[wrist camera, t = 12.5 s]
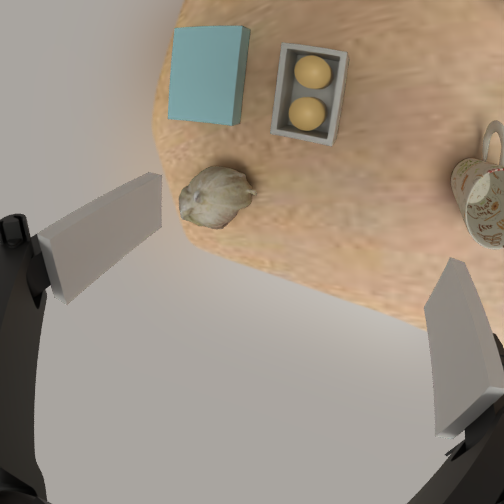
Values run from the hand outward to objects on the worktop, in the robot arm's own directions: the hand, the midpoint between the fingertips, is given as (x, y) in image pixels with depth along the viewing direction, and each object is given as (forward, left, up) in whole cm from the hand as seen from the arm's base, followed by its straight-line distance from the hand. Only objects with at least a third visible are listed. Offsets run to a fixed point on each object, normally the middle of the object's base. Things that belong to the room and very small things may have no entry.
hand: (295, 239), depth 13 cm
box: (-5, -4, -26) cm, 27 cm away
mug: (-2, +17, -26) cm, 32 cm away
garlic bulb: (+9, -13, -26) cm, 31 cm away
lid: (-6, -17, -26) cm, 32 cm away
